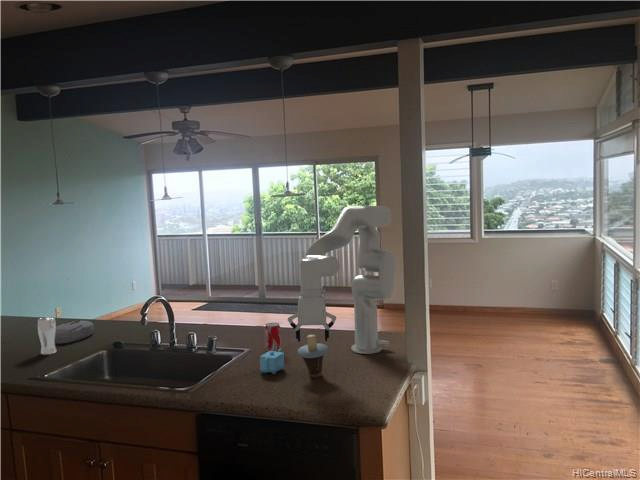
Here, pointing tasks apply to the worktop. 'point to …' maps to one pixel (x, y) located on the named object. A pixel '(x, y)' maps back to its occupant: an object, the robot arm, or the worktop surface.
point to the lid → (312, 348)
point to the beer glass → (47, 335)
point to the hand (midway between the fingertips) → (312, 340)
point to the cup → (314, 366)
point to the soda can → (272, 337)
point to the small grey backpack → (73, 331)
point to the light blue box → (272, 361)
